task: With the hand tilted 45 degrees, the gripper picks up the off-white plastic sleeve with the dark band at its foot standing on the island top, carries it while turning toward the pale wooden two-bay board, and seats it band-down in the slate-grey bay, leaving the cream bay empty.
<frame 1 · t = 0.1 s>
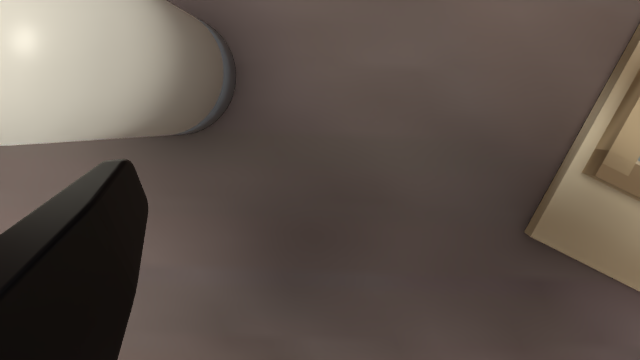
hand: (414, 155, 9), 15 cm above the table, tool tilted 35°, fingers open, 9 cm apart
sleeve: (178, 75, 25), on the table
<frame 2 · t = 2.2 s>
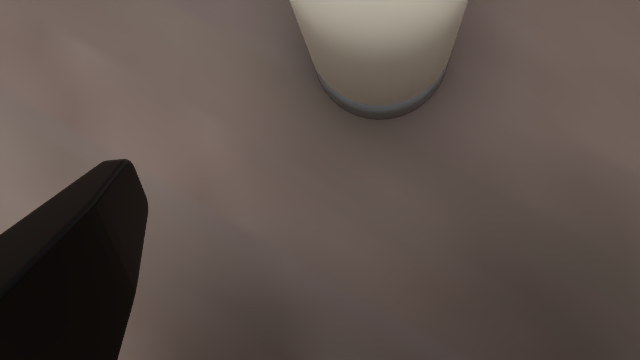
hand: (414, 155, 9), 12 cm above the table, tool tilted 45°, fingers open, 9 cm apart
sleeve: (380, 54, 22), on the table
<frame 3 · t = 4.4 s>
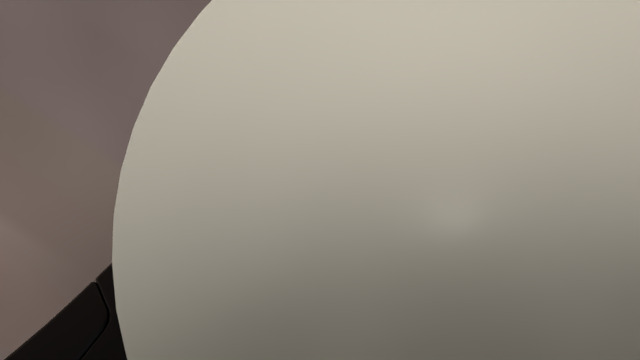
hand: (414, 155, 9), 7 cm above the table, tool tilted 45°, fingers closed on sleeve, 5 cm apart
sleeve: (408, 248, 16), on the table, touching gripper
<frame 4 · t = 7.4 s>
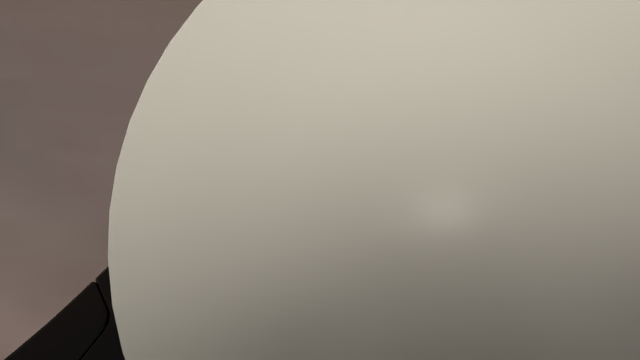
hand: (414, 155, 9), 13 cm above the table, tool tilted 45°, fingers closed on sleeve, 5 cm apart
sleeve: (407, 247, 16), point 7 cm above the table, touching gripper
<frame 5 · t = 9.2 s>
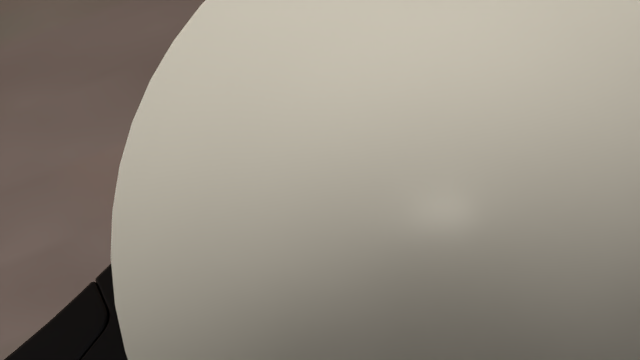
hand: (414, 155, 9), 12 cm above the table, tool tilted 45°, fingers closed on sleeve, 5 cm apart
sleeve: (408, 247, 16), point 5 cm above the table, touching gripper
when the fingers open (9 cm above the table, at t = 10.5 s): sleeve drops 1 cm, resting on bay board.
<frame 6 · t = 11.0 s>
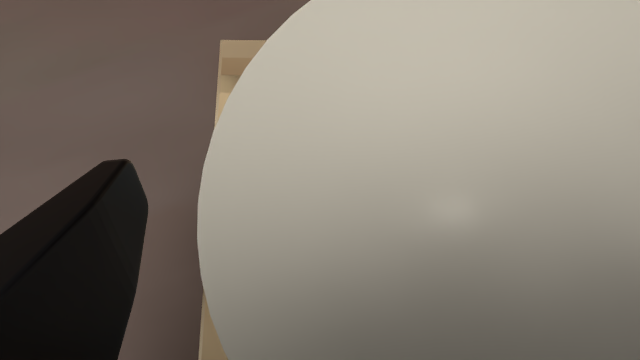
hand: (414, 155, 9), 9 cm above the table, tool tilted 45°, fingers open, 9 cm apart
bay board: (571, 291, 17), on the table
sleeve: (406, 249, 17), point 1 cm above the table, touching bay board
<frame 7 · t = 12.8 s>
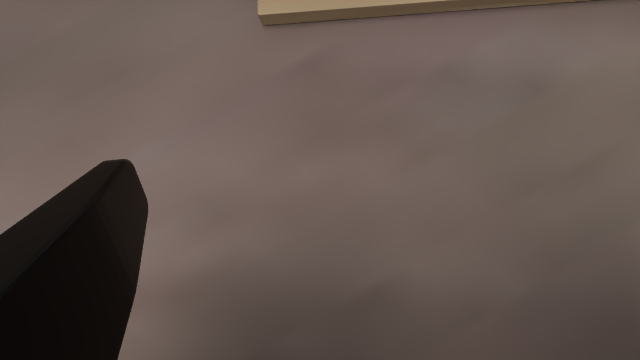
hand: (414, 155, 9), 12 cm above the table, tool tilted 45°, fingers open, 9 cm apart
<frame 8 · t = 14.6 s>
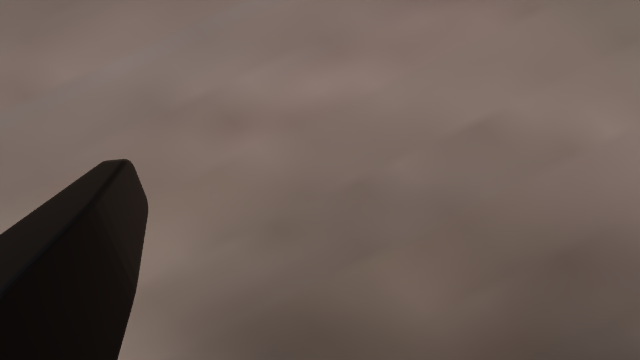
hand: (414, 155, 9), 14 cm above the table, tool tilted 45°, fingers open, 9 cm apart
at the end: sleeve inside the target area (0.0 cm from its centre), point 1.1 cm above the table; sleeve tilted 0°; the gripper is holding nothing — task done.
